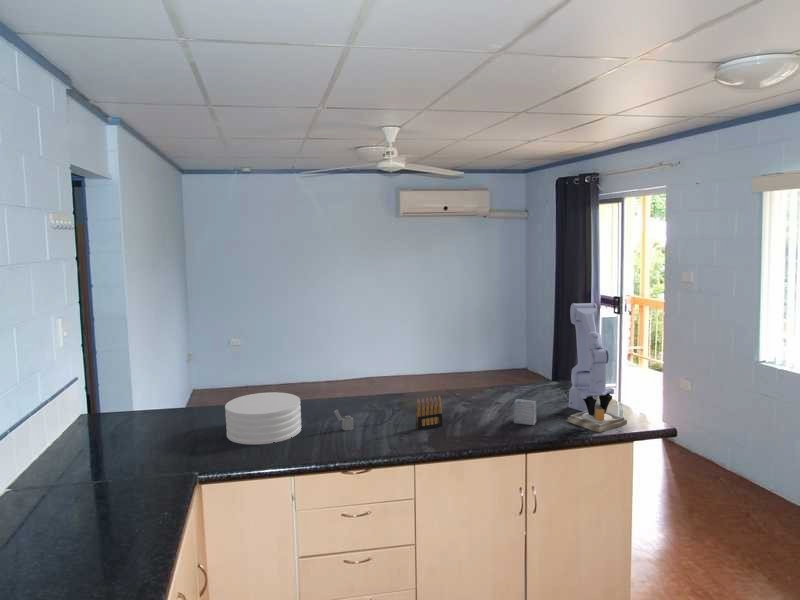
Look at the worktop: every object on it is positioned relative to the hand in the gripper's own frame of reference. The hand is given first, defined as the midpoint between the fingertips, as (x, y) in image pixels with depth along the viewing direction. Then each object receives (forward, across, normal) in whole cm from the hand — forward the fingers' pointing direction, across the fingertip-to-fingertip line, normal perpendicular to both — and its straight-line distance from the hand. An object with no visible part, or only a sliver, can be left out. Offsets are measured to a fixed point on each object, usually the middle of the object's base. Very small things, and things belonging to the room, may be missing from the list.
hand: (597, 414), depth 225 cm
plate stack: (+4, -119, +48) cm, 128 cm away
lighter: (+4, -91, +36) cm, 98 cm away
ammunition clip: (+4, -60, +24) cm, 65 cm away
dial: (+2, 0, 0) cm, 2 cm away
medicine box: (+4, -24, +12) cm, 28 cm away
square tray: (+3, 0, 0) cm, 3 cm away
